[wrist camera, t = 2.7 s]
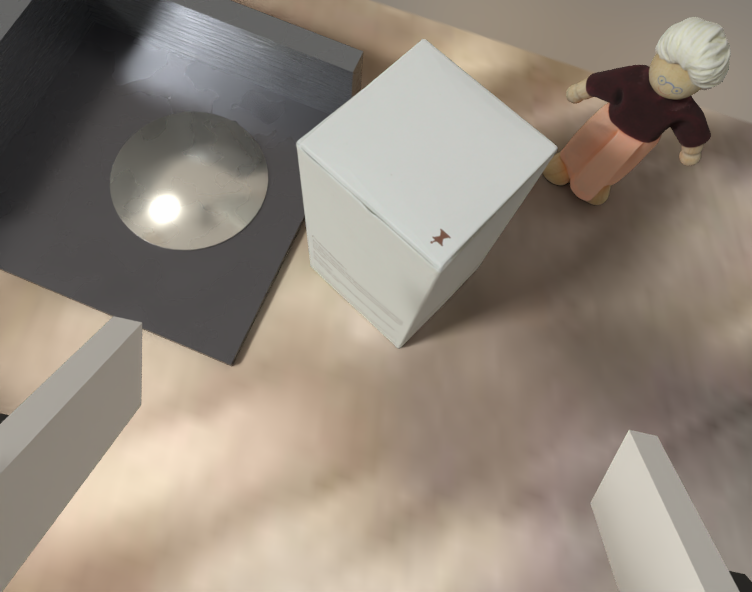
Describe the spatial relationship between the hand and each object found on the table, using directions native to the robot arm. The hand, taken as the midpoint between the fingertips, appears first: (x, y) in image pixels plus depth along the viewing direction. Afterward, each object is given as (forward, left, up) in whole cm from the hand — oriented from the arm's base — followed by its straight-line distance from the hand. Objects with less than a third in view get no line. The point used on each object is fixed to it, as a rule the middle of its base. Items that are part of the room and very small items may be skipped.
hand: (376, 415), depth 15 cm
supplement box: (+2, -10, -16) cm, 19 cm away
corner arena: (+17, -10, -15) cm, 25 cm away
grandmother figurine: (-7, -20, -16) cm, 27 cm away
